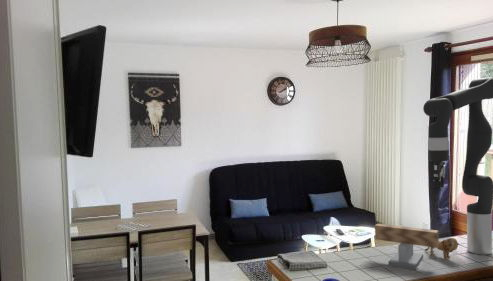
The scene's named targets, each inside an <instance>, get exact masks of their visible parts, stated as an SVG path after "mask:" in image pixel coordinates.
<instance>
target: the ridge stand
mask: <svg viewBox="0 0 493 281" xmlns="http://www.w3.org/2000/svg"><path fill="white" fill-rule="evenodd" d="M397 246H398V249H397V251H396V252H395V253H394V255H393V256H392V257H391V258H390V260H388V266H391V267H396V268H400V269H407V270H414V271H415V270H416V269H417V267H418V266H419V265H420V263H421V262H422V260H423V259H424V254H423V253H420V252H419V253H417V252H414V245H412V244H405V243H399V244H398V245H397Z"/></svg>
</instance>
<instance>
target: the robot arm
mask: <svg viewBox="0 0 493 281" xmlns="http://www.w3.org/2000/svg"><path fill="white" fill-rule="evenodd" d="M491 99H493V77H490V76H489V77H481V78H475V79H472V80H471V81H470V82H469V85H468V88H464V89H460V90H455V91H453V92H451V93H447V94H446V95H442V96H437V97H434V98H430V99H428V100H427V101H426V102H425V103H424V105H423V109H422V110H423V112H424V114H425V115H426V116H427V117H432V118H434V117H436V118H437V119H436V121H434V122H432V123H430V124H428V142H427V151H428V152H427V154H428V156H427V158H428V161H430V162H433V164H432V165H431V168H432V169H431V170H432V172H431V175H432V177H431V178H432V179H431V180H432V181H433V191H437V192H439V191H441V188H444V187H445V177H446V162H448V161H450V142H449V125H450V122H451V117H452V114H453V112H454V111H456V110H458V109H461V108H464V107H465V106H468V123H467V124H468V125H467V133H466V134H467V136H466V153H465V154H466V155H465V161H464V167H463V168H464V170H463V173H462V174H463V175H462V180H461V188H462V192H463V193H464V194H465V195H466V196H471V197H477V202H473V203H469V204H467V205H466V233H467V234H466V247H467V248H466V250H467V252H469V253H472V254H474V255H475V254H476V255H491V254H493V234H492V233H493V232H492V230H493V228H492V227H493V225H492V223H493V222H492V220H493V219H492V217H493V216H492V213H493V212H492V211H493V178H492V177H490V176H487V175H481V174H477V173H478V168H479V165H480V163H481V161H482V159H483V158H484V157H485V156H486V155H487V152H489V150H490V148H491V146H492V140H493V128H492V125H491V124H490V122H489V120H488V119H487V117H486V116H485V114H484V112H483V100H491Z"/></svg>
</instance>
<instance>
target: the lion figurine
mask: <svg viewBox="0 0 493 281" xmlns="http://www.w3.org/2000/svg"><path fill="white" fill-rule="evenodd" d="M459 243H460V242H458V240H457V239H456V238H454V237H450V238H446V239H443V240H442V241H441V240H439V246H438V247H437V248H436V249H437V250H438V251H442V253H443V254H442V255H443V259H444V260H445V261H446V260H448V259H450V258H451V256H449V254H450V253H452V252H453V251H455V250H457V249H458V246H459V245H460V244H459ZM434 249H435V248H434V247H427V248H426V249H424V251H425V252H427V251H428V250H430V255H431V256H435V253H434V252H435V250H434Z"/></svg>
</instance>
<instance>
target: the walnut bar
mask: <svg viewBox="0 0 493 281" xmlns="http://www.w3.org/2000/svg"><path fill="white" fill-rule="evenodd" d="M374 238H375V240H378V241H384V242H392V243H399V244H400V243H405V244H412V245H413V246H419V247H420V246H421V247H427V248H428V247H429V248H431V247H434V248H433V249H437V247H438V246H439V241H440V240H439V238H440V237H439V230H437V229H428V228H421V227H419V228H418V227H411V226H410V227H409V226H403V225H402V226H401V225H396V224H395V225H393V224H386V223H385V224H384V223H376V224H375V225H374Z"/></svg>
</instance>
